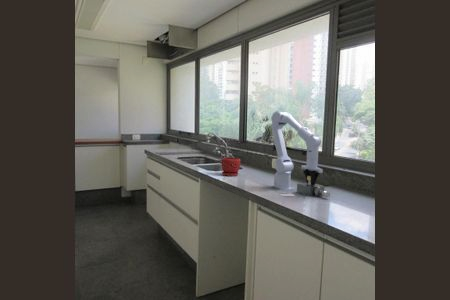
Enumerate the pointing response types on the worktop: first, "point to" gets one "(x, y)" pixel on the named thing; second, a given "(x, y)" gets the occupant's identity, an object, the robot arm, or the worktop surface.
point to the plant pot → (230, 166)
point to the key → (309, 180)
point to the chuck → (312, 190)
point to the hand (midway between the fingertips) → (310, 184)
